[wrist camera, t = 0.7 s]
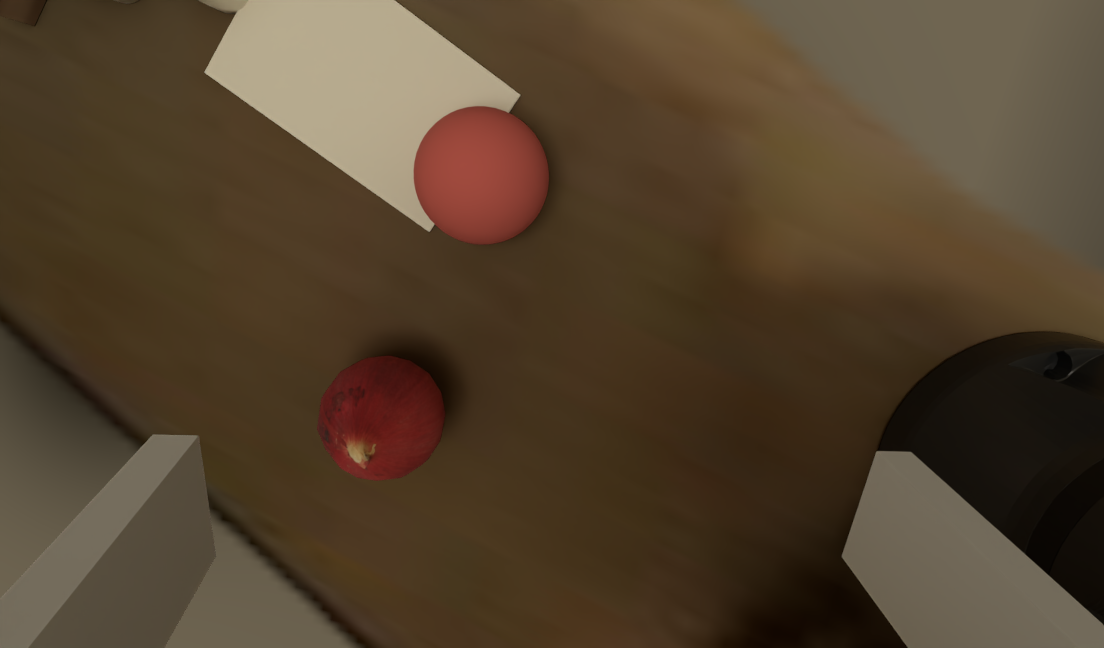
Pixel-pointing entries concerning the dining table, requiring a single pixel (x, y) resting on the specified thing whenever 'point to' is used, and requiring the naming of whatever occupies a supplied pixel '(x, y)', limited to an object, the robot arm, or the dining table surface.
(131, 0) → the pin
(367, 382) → the onion
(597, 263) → the dining table surface
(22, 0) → the backstop
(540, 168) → the ball
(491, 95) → the cream flat rectangular slab
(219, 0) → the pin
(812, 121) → the dining table surface
